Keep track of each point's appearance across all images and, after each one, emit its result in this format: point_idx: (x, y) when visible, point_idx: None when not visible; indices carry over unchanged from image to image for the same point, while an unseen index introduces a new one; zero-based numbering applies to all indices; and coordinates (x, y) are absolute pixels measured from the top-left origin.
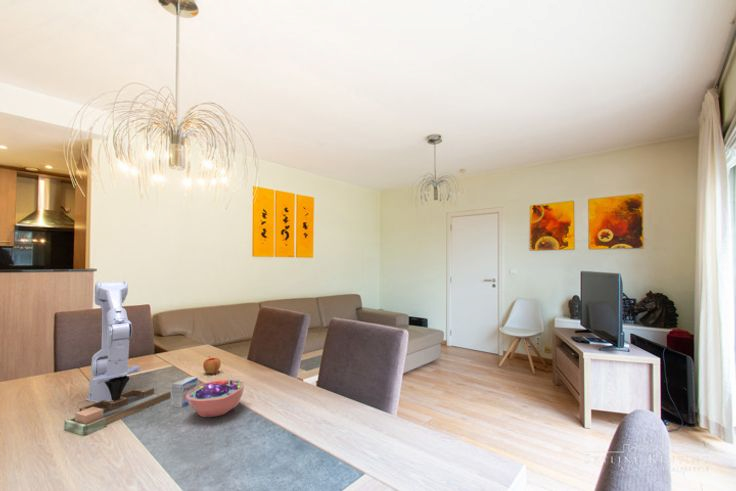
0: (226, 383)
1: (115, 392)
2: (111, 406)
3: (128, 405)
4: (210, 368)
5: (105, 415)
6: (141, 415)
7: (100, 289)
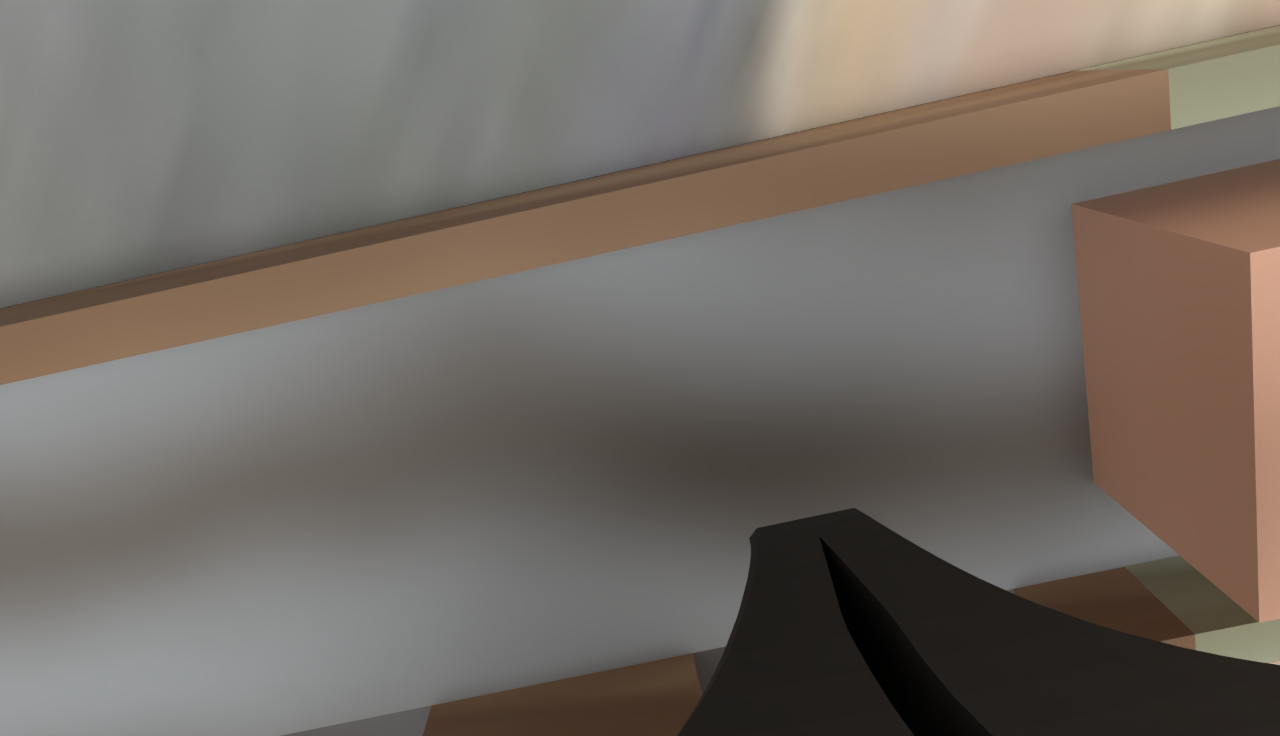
0: None
1: (1001, 590)
2: None
3: (443, 646)
4: None
5: None
6: (438, 28)
7: None
